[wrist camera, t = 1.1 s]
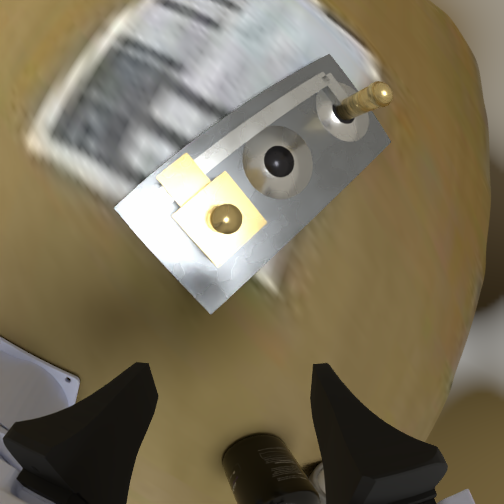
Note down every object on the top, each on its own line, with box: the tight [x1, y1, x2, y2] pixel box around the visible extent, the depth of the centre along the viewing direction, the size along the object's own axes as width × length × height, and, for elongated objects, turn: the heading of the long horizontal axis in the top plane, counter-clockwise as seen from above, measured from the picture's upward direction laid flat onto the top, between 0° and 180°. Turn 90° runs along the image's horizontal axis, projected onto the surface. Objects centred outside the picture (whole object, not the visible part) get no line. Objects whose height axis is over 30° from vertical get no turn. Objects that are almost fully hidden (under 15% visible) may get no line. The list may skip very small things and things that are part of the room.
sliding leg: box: [156, 152, 267, 267], centre depth 17 cm, size 4×6×4 cm, turn 40°
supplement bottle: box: [223, 435, 321, 504], centre depth 19 cm, size 7×7×12 cm
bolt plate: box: [114, 54, 393, 314], centre depth 19 cm, size 22×10×7 cm, turn 130°
